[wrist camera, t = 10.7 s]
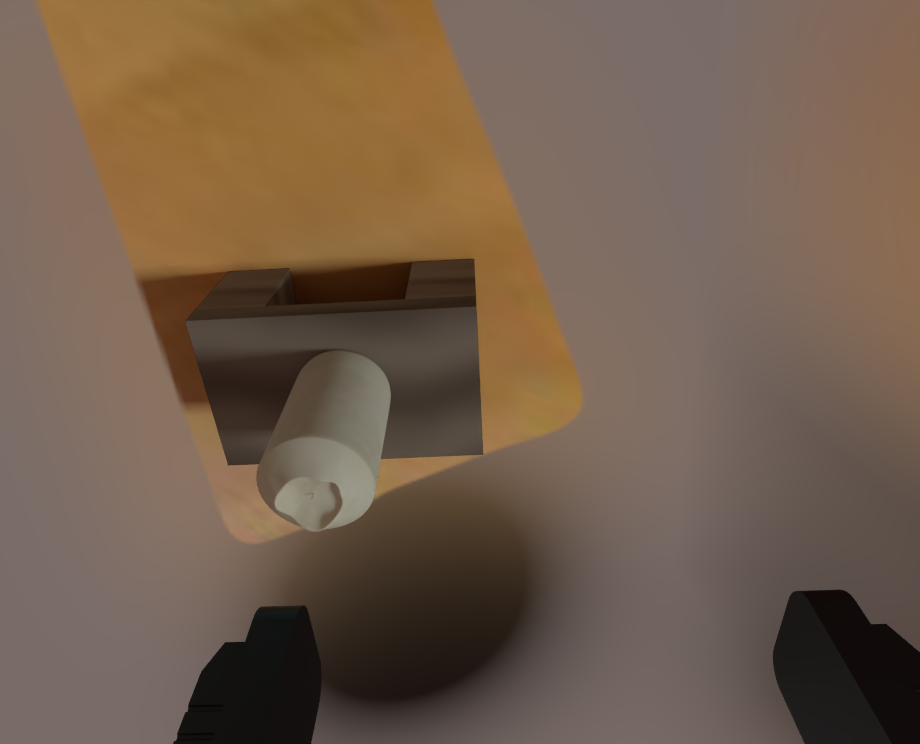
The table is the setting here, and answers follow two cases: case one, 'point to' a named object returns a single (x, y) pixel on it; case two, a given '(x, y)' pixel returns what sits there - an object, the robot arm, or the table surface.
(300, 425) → the candle
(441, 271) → the bridge
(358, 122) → the table surface
